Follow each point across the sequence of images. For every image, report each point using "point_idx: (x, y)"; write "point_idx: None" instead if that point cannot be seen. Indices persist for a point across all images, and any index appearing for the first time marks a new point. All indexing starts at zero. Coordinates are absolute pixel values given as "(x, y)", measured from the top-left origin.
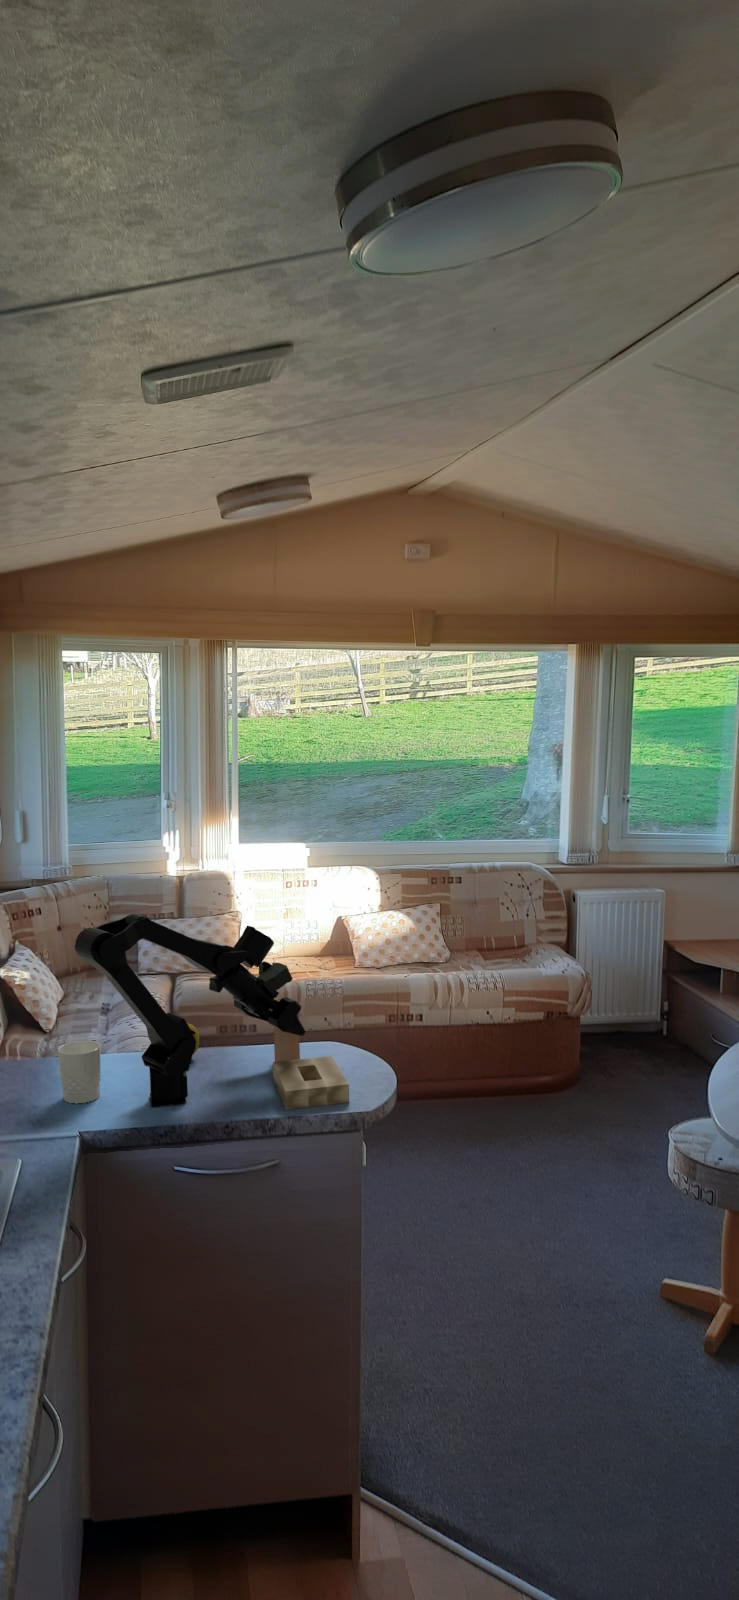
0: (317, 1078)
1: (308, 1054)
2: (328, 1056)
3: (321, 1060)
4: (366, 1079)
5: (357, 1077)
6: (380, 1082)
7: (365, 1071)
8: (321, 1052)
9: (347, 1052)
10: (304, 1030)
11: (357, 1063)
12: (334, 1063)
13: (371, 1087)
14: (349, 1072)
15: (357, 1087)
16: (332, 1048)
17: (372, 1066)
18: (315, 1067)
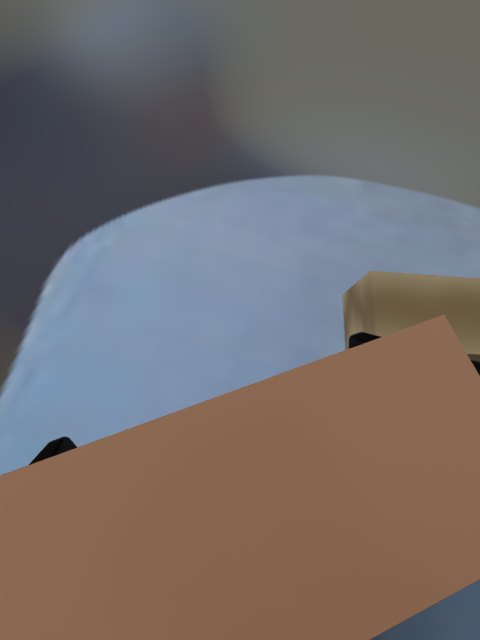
0: (476, 360)
1: (152, 321)
2: (371, 282)
3: (411, 316)
4: (409, 225)
5: (391, 241)
6: (435, 202)
7: (351, 211)
8: (152, 278)
9: (186, 211)
10: (378, 337)
11: (285, 212)
12: (448, 281)
13: (467, 231)
14: (349, 250)
15: (463, 261)
16: (131, 239)
17: (318, 186)
18: (468, 354)
